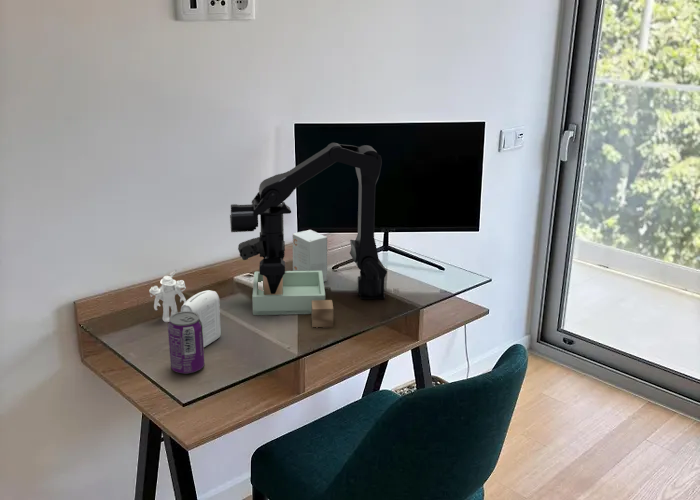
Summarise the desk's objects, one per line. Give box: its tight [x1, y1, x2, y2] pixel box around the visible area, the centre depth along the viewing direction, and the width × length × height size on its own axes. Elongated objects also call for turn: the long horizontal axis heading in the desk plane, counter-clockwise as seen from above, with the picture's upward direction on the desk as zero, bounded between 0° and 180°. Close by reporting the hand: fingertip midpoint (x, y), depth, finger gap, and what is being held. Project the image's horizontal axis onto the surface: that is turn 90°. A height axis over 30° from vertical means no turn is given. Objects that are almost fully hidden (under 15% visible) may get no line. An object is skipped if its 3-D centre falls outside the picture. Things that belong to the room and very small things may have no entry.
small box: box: [292, 229, 328, 282], centre depth 201 cm, size 8×6×13 cm
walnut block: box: [311, 299, 334, 329], centre depth 177 cm, size 5×5×5 cm
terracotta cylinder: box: [263, 275, 283, 295], centre depth 188 cm, size 5×5×7 cm
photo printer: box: [180, 289, 222, 348], centre depth 165 cm, size 10×4×12 cm, turn 151°
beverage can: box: [167, 311, 205, 375], centre depth 155 cm, size 7×7×12 cm
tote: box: [251, 270, 326, 316], centre depth 189 cm, size 18×16×5 cm
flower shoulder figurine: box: [148, 269, 187, 323], centre depth 176 cm, size 9×4×12 cm, turn 127°
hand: (273, 286), depth 188 cm, fingers open, 8 cm apart
